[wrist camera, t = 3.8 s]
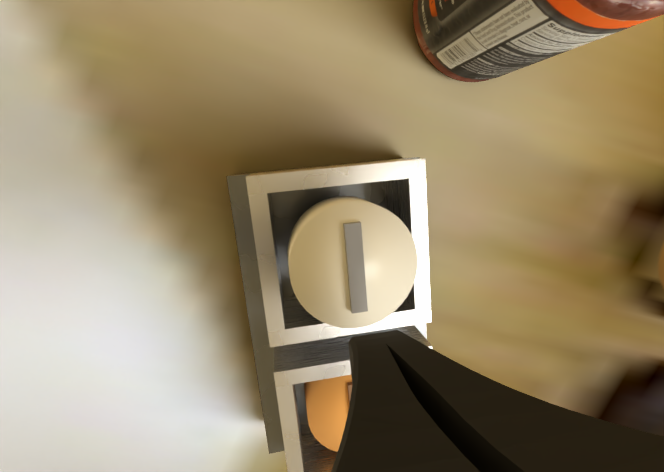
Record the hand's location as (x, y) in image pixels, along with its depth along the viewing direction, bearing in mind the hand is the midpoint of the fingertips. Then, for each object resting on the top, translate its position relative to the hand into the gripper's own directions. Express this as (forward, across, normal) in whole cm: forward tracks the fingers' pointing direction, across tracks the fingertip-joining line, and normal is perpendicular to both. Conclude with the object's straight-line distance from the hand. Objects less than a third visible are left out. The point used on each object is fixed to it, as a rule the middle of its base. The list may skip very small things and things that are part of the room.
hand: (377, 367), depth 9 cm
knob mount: (+9, 0, +1) cm, 9 cm away
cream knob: (+4, 0, -2) cm, 5 cm away
